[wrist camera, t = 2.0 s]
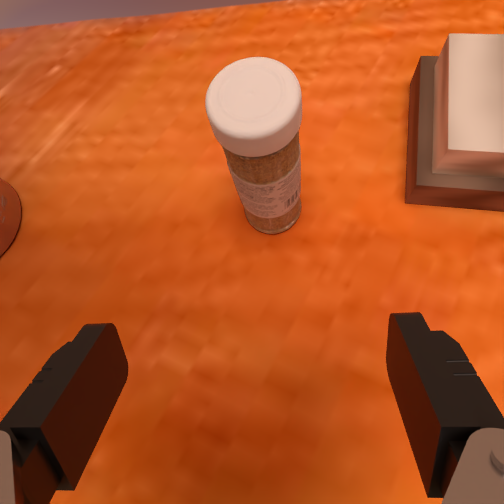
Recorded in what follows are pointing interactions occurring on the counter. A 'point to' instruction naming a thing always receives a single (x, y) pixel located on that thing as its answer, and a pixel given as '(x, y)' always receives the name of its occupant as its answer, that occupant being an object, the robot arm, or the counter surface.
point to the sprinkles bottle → (260, 138)
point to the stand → (458, 125)
